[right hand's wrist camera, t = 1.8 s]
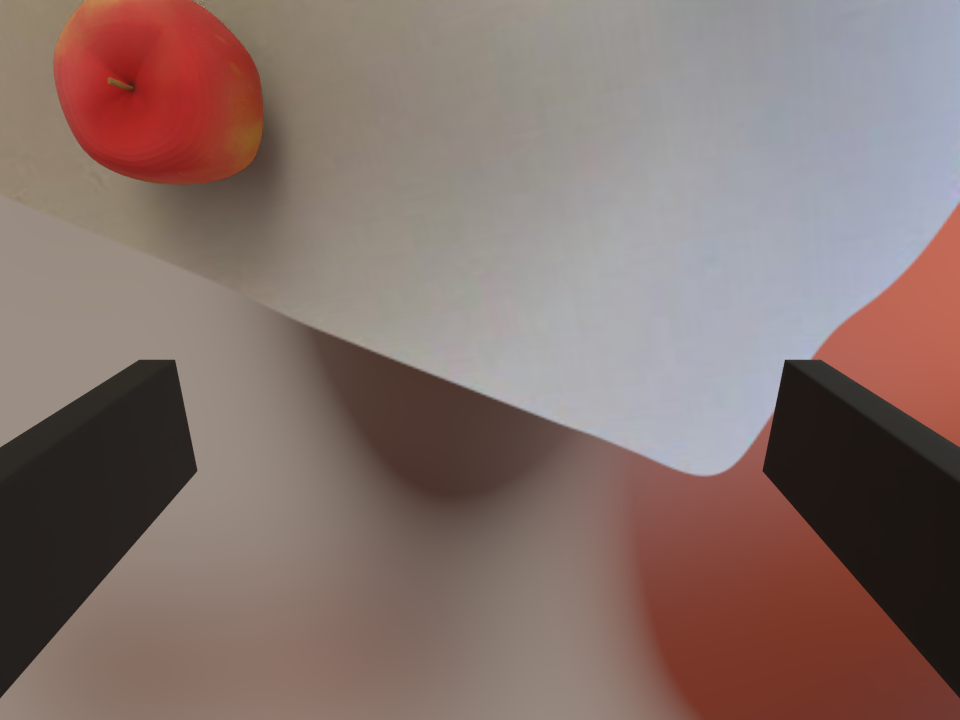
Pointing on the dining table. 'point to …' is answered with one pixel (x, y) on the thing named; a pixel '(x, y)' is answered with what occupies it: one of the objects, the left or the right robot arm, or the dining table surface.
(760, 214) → the dining table surface
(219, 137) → the apple
